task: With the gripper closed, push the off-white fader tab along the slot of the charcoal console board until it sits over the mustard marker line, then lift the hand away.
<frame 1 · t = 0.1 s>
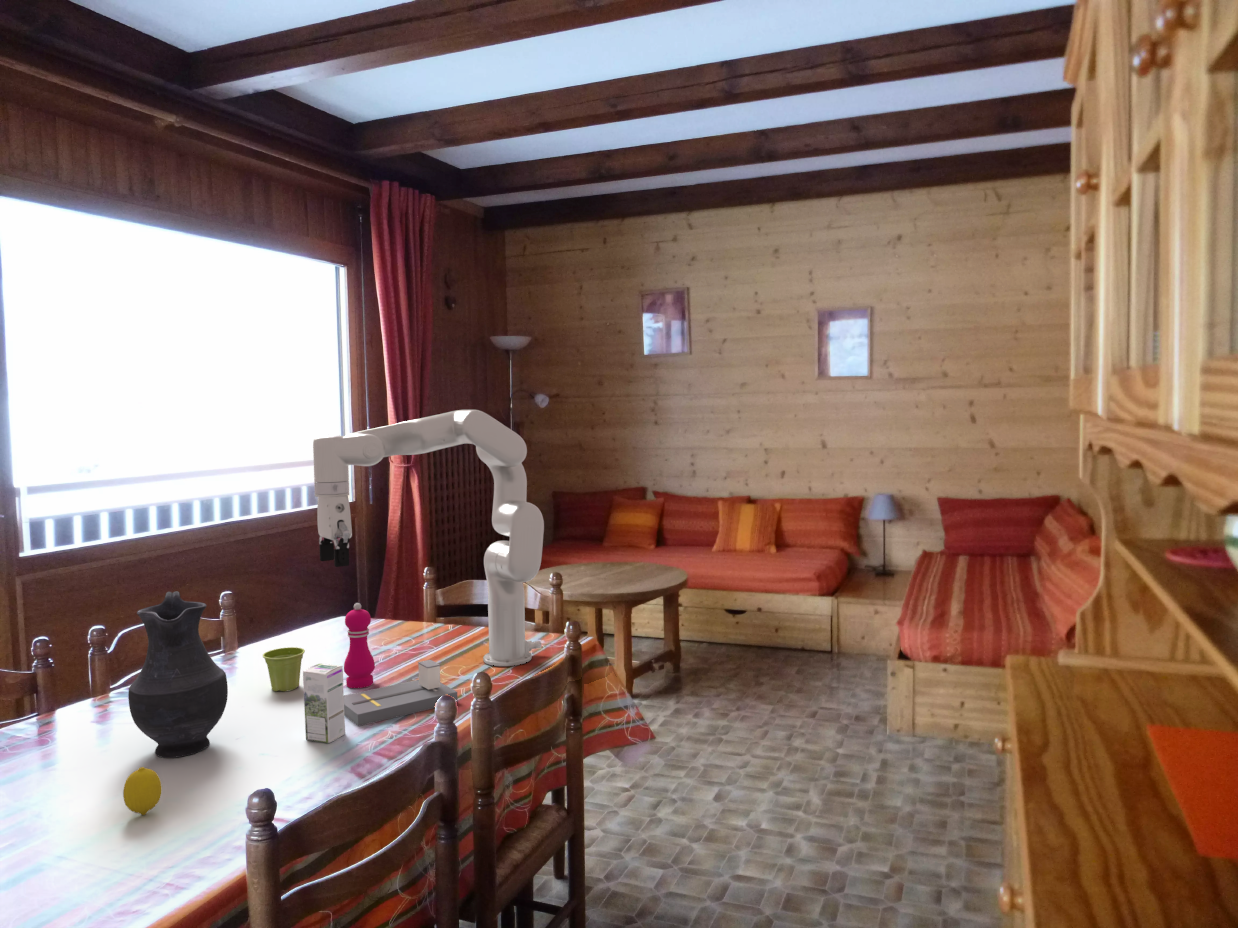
hand: (334, 563, 200), 31 cm above the table, tool pointing down, fingers open, 9 cm apart
syrup box: (325, 738, 176), on the table
pitcher: (181, 746, 173), on the table
pepper mill: (360, 685, 210), on the table
plant pot: (285, 688, 208), on the table
fader: (429, 674, 199), point 5 cm above the table, slide at 0.0 cm
lemon: (143, 815, 143), on the table
console: (396, 705, 195), on the table
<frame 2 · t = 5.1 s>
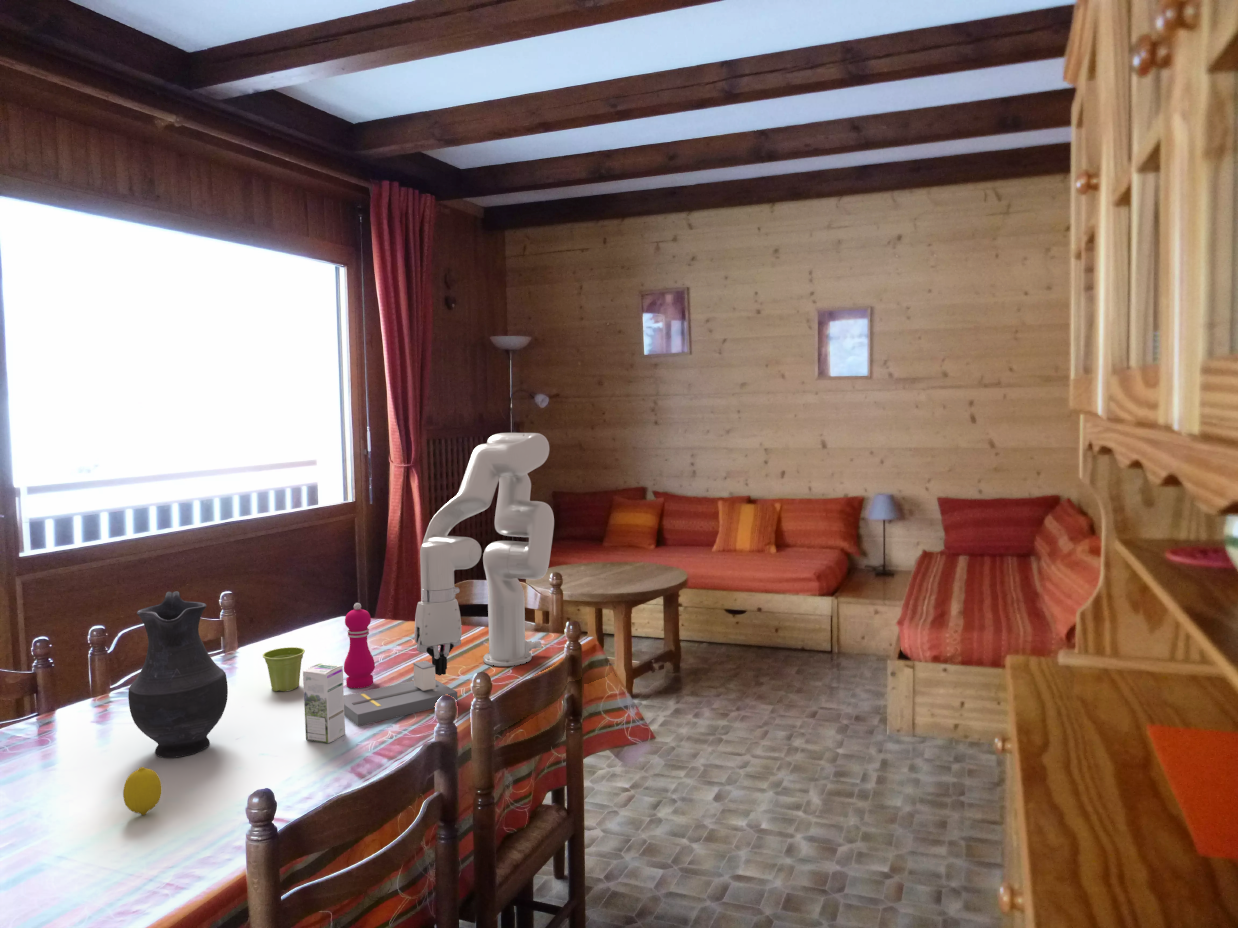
hand: (439, 673, 201), 5 cm above the table, tool pointing down, fingers closed
fader: (424, 675, 198), point 5 cm above the table, slide at 1.2 cm, touching gripper
everything else where it was.
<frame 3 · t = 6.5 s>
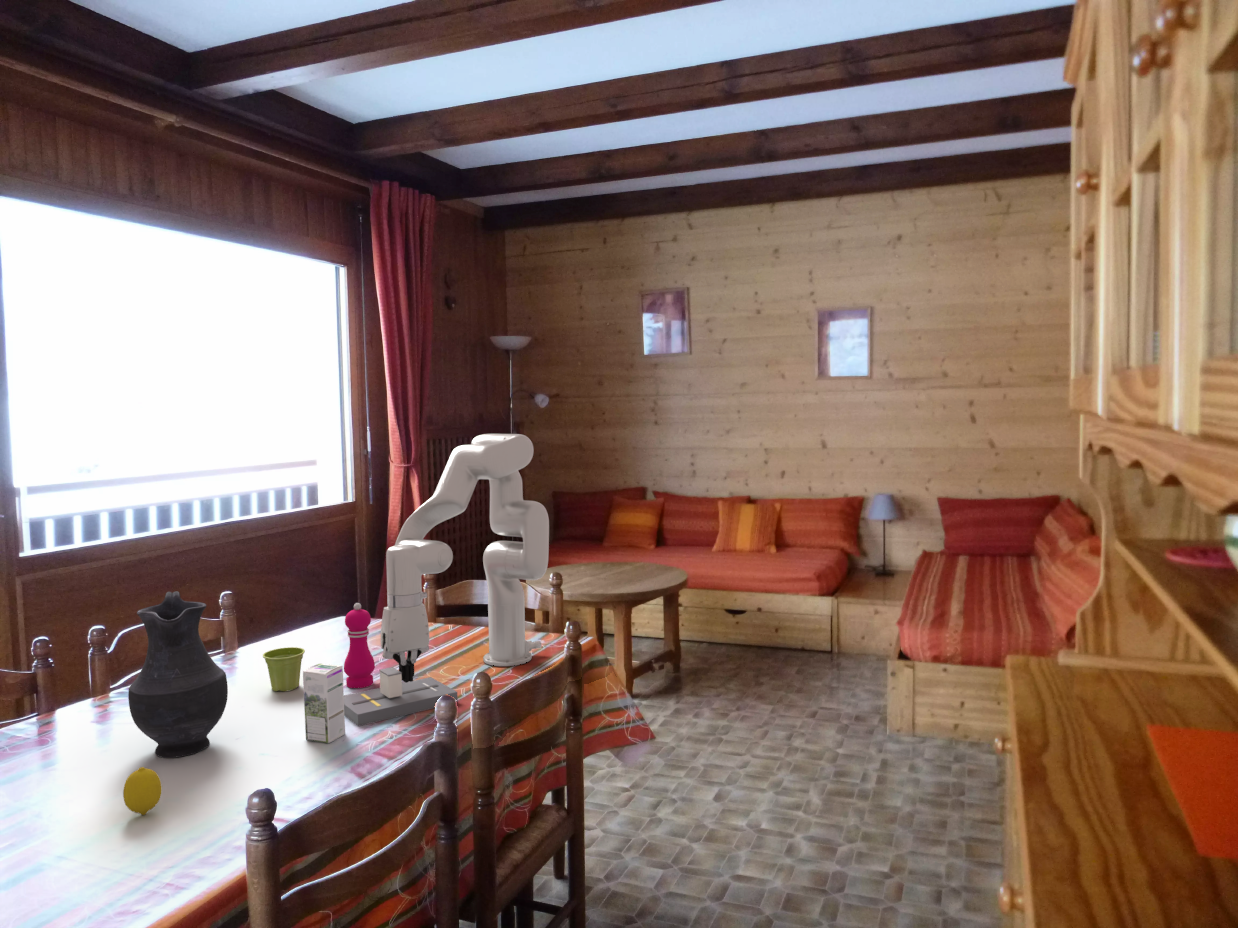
hand: (406, 680, 196), 5 cm above the table, tool pointing down, fingers closed
fader: (390, 682, 194), point 5 cm above the table, slide at 9.2 cm, touching gripper
everything else where it was.
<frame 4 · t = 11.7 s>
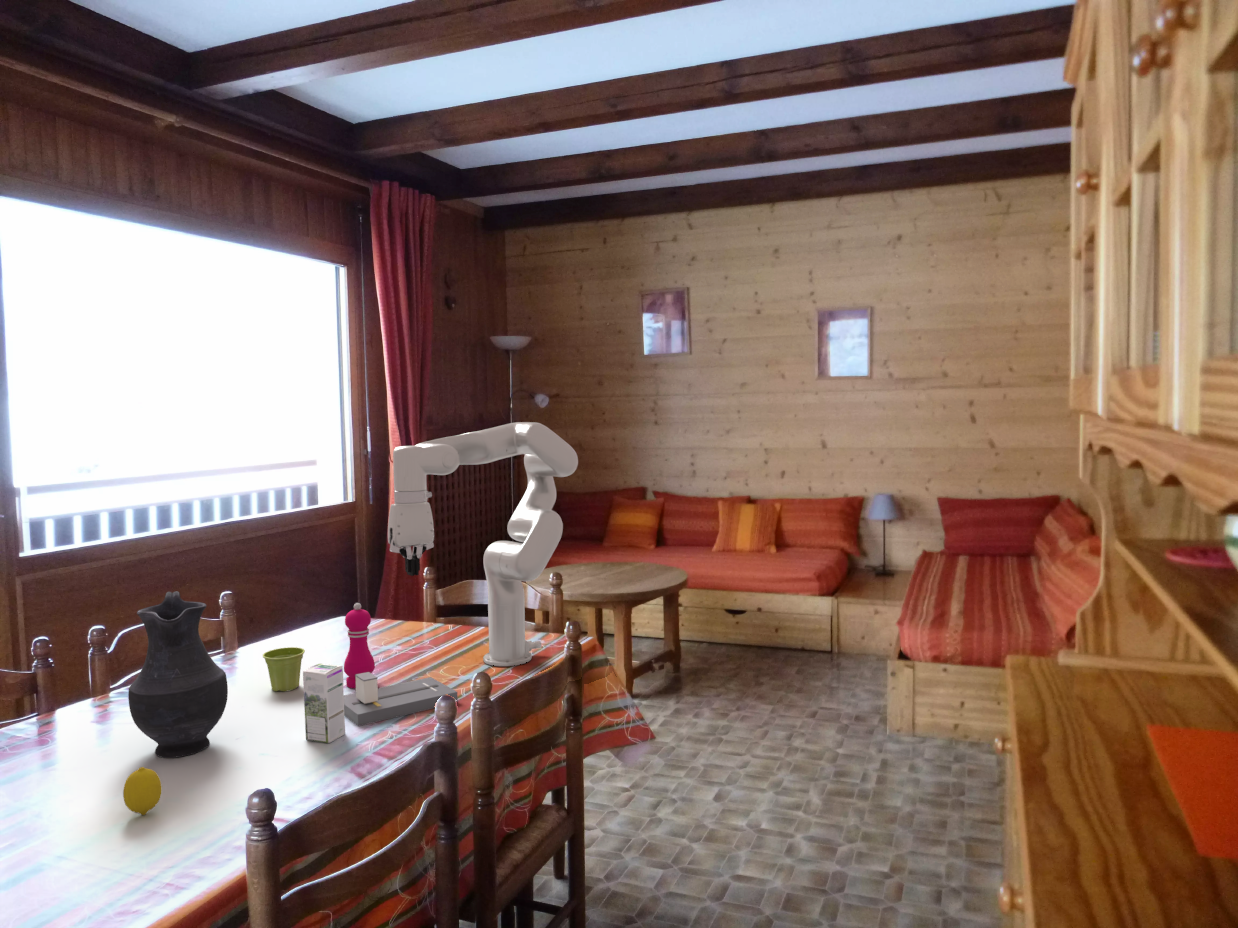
hand: (412, 574, 206), 27 cm above the table, tool pointing down, fingers closed
fader: (366, 687, 190), point 5 cm above the table, slide at 14.8 cm
everything else where it was.
at the end: fader slide at 14.8 cm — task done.
